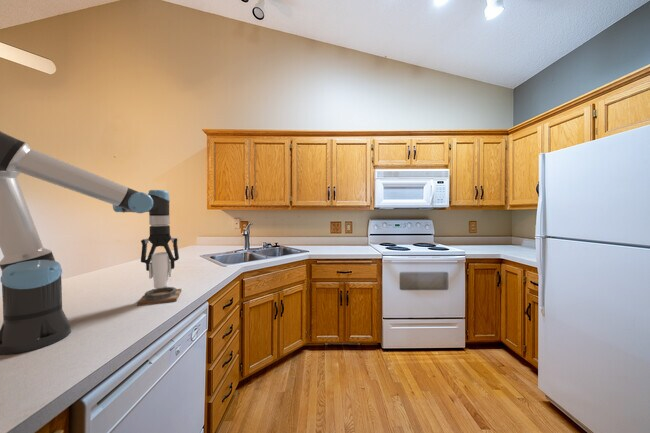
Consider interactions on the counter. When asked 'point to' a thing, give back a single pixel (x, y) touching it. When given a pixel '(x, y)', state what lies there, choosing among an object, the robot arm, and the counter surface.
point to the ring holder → (160, 296)
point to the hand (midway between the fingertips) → (160, 276)
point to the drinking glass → (160, 269)
